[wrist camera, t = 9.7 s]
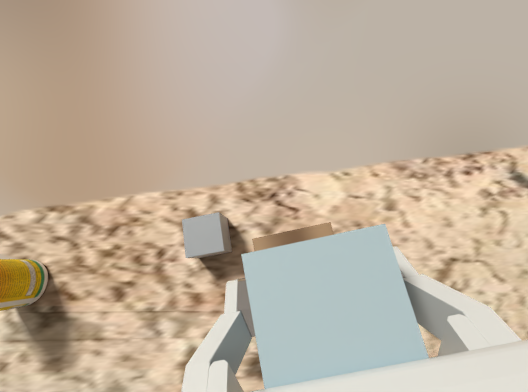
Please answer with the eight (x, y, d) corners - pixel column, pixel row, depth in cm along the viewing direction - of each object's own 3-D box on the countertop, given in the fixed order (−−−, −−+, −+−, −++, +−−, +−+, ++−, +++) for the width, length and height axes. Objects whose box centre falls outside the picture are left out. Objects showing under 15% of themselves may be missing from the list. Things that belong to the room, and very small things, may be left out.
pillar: (281, 329, 15) (270, 423, 7) (266, 256, 16) (241, 254, 8) (353, 315, 15) (440, 392, 6) (333, 242, 16) (385, 223, 8)
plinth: (271, 314, 28) (268, 324, 24) (256, 241, 30) (252, 238, 26) (343, 300, 27) (353, 306, 23) (324, 227, 29) (330, 222, 25)
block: (199, 258, 30) (185, 257, 26) (195, 224, 31) (182, 219, 27) (232, 251, 30) (224, 250, 26) (227, 218, 31) (218, 212, 27)
